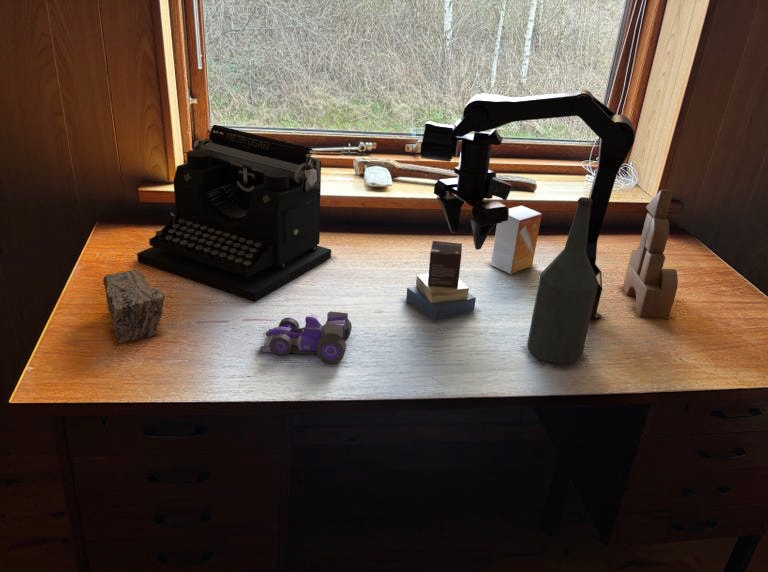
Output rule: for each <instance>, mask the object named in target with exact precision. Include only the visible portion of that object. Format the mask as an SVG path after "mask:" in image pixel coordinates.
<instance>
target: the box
mask: <svg viewBox="0 0 768 572" xmlns="http://www.w3.org/2000/svg"><path fill="white" fill-rule="evenodd" d="M462 249H463V243H461V242H460V243H459V242H449V241H442V240H441V241H440V240H432V242H431V248H430V253H429V267H428V274H429V276H428V286H441V287H451V288H458V281H459V279H460V273H461V272H460V271H461V263H462Z"/></svg>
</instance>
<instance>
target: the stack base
mask: <svg viewBox="0 0 768 572" xmlns="http://www.w3.org/2000/svg"><path fill="white" fill-rule="evenodd" d="M476 299H477V298H476V297H475V296H474V295H472V294H471V293H469V292H468V299H465V300H456V301H448V302H439V303H430V302H429V300H428V299H427V298H426V297H425V296H424V295H423V294H422V292H421V291H420V290H419V289H418V288H417V287H416V285H413V286H409V287H406V297H405V301H406V302H407V303H408V304H410V305H411V306H413V307H414V308H416V309H417V310H418V311H420V312H421V313H423V314H424V315H425V316H427V317H428V318H430V319H431V320H433V321H434V322H438V321H442V320H445V319H451V318H453V317H457V316H459V315H463V314H467V313H470V312H473V311H475V307H476Z"/></svg>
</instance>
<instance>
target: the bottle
mask: <svg viewBox="0 0 768 572" xmlns="http://www.w3.org/2000/svg"><path fill="white" fill-rule="evenodd" d="M592 203H593V201H592V199H590V198H589V197H585V196H582V197H581V196H580V197H579V198H578V199H577V207H576V210H575V214H574V217H573V219H572V223H571V226H570V229H569V233H568V235H567V239H566V242H565V244H564V248H563V250H561V251H560V253H559V254H558V255H557V256H555V258H554V259H553V260H552V261H551V262H550V263H549V264H548V265H547V266H546V267H545V268H544V270H542V271H541V273H540V274H539V278H538V283H537V289H536V294H535V300H534V305H533V310H532V316H531V320H530V327H529V332H528V337H527V343H526V346H527V350H528V352H529V354H530V355H531V356H533V357H534V358H535V360H536V361H538V362H540V363H543V364H545V365H550V366H557V367H564V366H569V365H574V364H576V362H577V361H579V359H580V357H581V356H582V355H583V353H584V348H585V345H586V340H587V336H588V331H589V327H590V324H591V323H590V322H591V320H590V319H591V314H592V310H593V306H594V302H595V297H596V293H597V289H598V284H599V283H598V281H597V278H596V276H595V273H594V271H593V268H592V266H591V263H590V261H589V258H588V256H587V253H586V248H587V238H588V229H589V219H590V209H591V205H592Z"/></svg>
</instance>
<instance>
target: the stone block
mask: <svg viewBox="0 0 768 572" xmlns="http://www.w3.org/2000/svg"><path fill="white" fill-rule="evenodd" d="M102 282H103V286H104V289H105V296H106V305H107V310H108V313H109V316H110V319H111V322H112V325H113V330H114V333H115V336H116V339H117V341H118V343H119V344H124V343H129V342H133V341H137V340H142V339H146V338H151V337H155V336H157V335H158V329H157V326H159V324H160V322H161V318H162V315H163V312H164V311H163V308H164V303H165V298H166V296H165V293H164V292H162V290H160V289H158V288H154V287H152V286H151V285H150V284H149V283H148V279H147V278H146V277H145V276H144V274H142V273H141V271H140V269H132V270H125V271H119V272H113V273H109V274H105V275H104V276H103V281H102Z"/></svg>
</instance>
